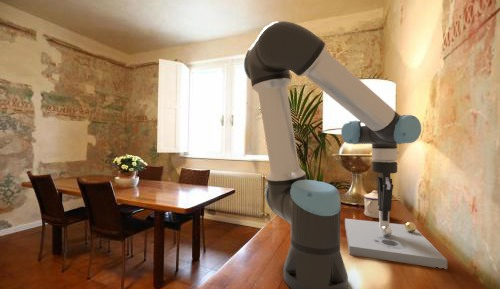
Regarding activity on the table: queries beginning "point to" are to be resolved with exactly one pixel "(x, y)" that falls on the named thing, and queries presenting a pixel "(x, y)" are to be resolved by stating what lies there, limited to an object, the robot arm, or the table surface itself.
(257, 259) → the table surface
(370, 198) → the teacup with lid
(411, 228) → the brass ball
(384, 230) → the steel ball
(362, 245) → the plate
